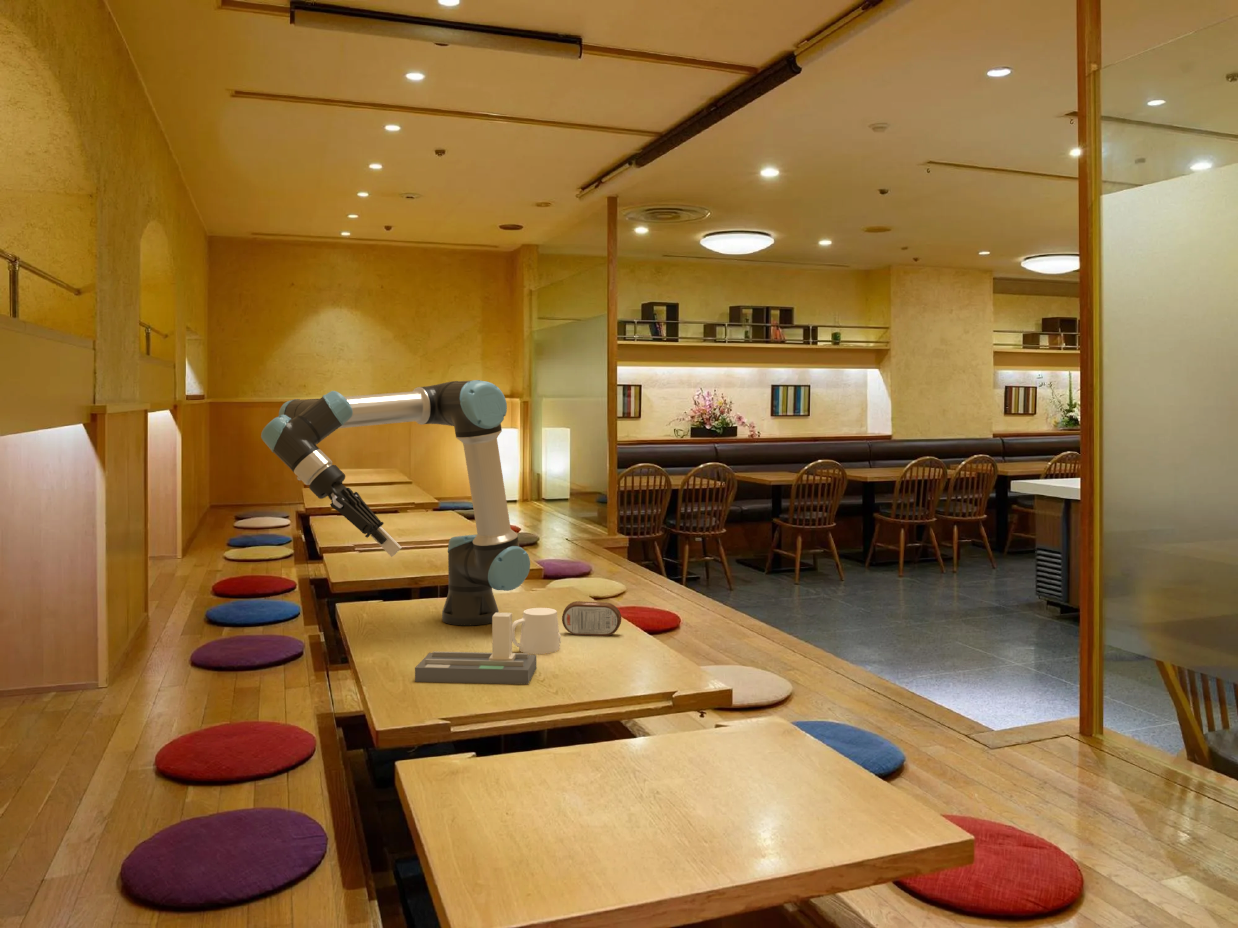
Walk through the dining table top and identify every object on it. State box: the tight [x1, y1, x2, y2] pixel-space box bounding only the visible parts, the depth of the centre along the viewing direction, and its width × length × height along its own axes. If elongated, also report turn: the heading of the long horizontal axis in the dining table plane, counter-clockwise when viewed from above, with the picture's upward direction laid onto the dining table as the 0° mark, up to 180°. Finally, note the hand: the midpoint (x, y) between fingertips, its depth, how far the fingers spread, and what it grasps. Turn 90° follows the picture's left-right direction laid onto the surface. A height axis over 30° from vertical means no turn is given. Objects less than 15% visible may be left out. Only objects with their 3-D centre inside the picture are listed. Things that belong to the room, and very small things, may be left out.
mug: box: [512, 607, 562, 655], centre depth 225 cm, size 12×9×8 cm
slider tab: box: [489, 612, 517, 661], centre depth 204 cm, size 4×5×10 cm
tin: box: [561, 600, 622, 637], centre depth 241 cm, size 15×3×8 cm, turn 84°
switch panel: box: [414, 650, 537, 685], centre depth 205 cm, size 12×24×4 cm, turn 87°
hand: (396, 552), depth 208 cm, fingers closed
